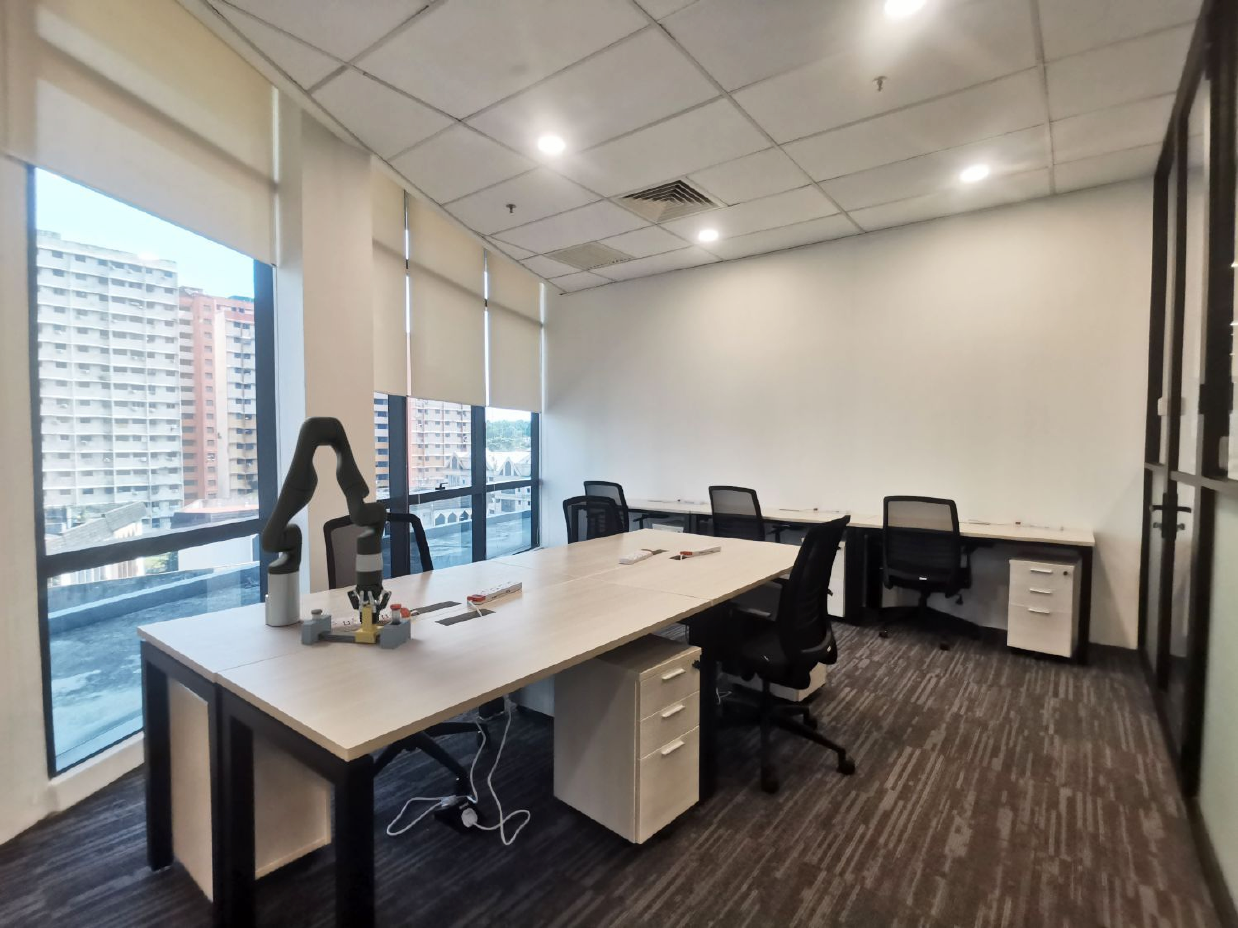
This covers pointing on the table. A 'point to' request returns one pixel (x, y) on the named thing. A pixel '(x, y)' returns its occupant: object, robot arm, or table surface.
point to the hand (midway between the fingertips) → (369, 623)
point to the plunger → (395, 613)
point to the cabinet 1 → (315, 626)
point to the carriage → (367, 627)
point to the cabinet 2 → (395, 634)
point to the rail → (341, 637)
